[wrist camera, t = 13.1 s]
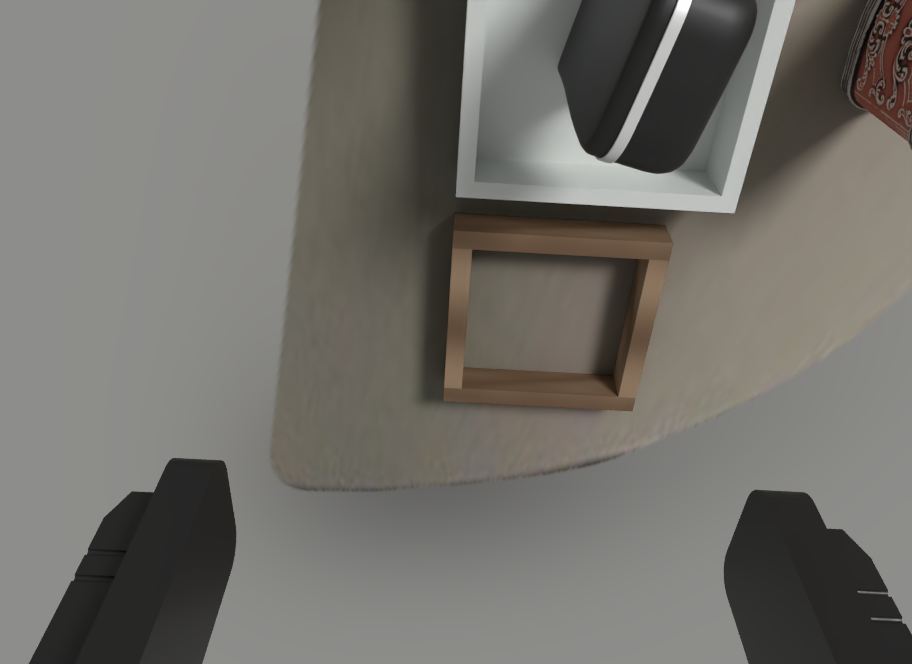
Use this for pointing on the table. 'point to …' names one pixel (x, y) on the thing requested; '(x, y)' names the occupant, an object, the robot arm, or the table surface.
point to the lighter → (882, 64)
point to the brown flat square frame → (560, 239)
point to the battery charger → (650, 75)
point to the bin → (551, 129)
